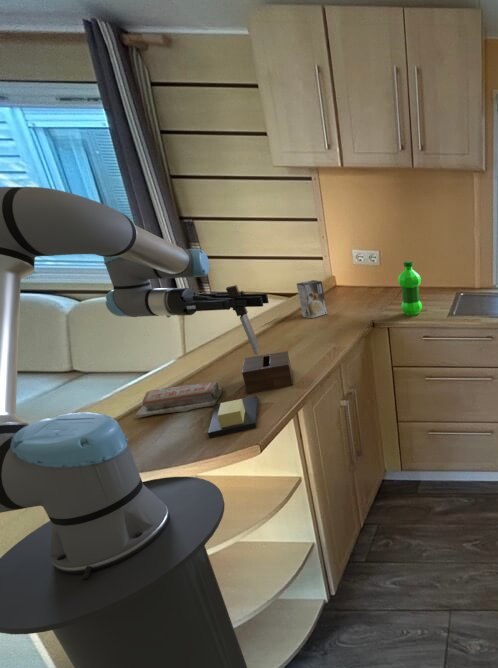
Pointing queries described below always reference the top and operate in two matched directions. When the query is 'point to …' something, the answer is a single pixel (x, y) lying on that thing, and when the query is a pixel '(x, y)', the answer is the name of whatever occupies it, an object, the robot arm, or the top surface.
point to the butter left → (224, 414)
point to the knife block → (267, 372)
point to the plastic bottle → (410, 289)
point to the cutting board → (248, 423)
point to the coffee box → (312, 298)
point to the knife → (244, 319)
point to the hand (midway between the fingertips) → (264, 299)
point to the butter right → (237, 412)
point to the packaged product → (179, 399)
